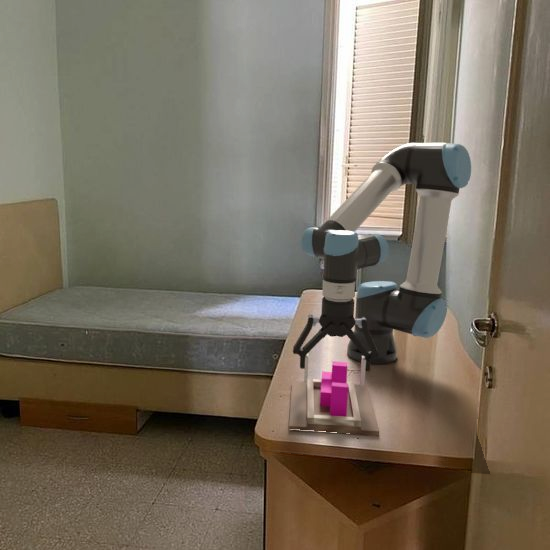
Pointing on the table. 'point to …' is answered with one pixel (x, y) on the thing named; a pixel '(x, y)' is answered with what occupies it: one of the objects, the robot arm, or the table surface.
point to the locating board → (318, 417)
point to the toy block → (335, 389)
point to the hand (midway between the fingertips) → (333, 382)
